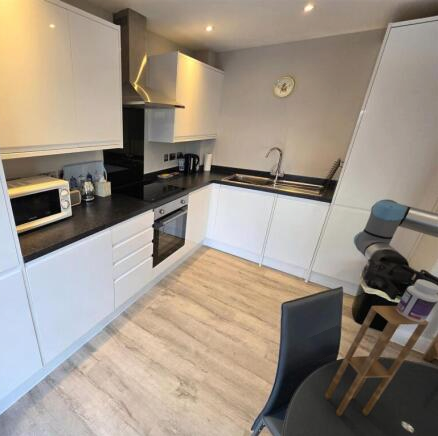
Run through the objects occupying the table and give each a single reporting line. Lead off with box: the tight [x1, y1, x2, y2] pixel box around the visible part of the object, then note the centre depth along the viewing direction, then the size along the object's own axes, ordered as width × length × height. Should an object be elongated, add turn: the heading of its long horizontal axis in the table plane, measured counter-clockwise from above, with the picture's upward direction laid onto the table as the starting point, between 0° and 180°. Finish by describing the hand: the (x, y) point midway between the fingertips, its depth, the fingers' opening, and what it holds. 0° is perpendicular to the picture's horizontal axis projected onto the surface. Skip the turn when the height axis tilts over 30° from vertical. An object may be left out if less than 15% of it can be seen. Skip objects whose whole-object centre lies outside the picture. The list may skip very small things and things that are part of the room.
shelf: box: [370, 305, 430, 325], centre depth 63 cm, size 10×6×1 cm, turn 93°
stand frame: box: [324, 307, 429, 417], centre depth 70 cm, size 10×6×37 cm, turn 93°
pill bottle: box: [396, 279, 438, 322], centre depth 61 cm, size 5×5×10 cm
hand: (431, 303), depth 57 cm, fingers open, 13 cm apart
